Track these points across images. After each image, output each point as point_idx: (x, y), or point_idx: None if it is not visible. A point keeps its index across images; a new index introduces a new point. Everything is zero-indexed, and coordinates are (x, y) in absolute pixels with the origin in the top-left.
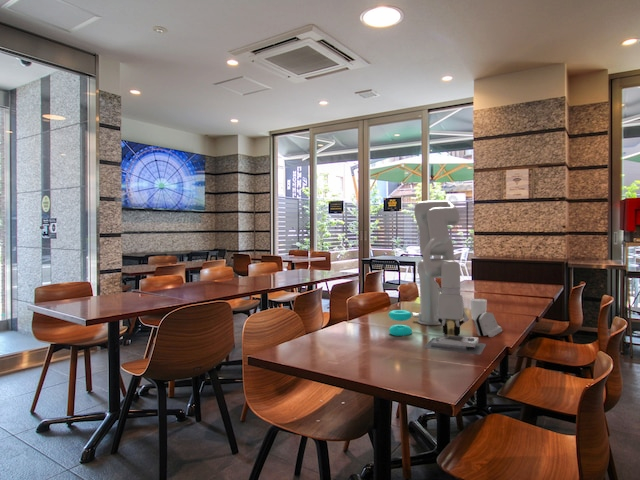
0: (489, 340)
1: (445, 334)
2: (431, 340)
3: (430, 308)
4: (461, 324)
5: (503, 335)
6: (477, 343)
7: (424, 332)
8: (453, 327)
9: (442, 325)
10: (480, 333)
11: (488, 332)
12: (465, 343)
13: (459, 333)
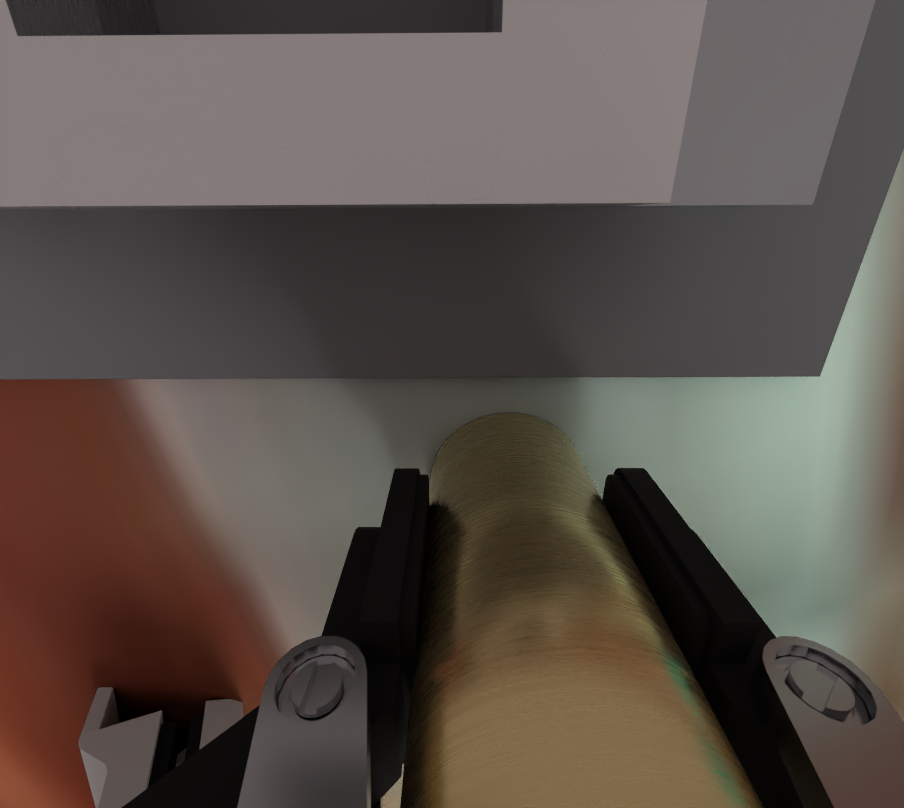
0: (53, 608)
1: (629, 176)
2: (869, 174)
3: None
4: (204, 755)
5: (54, 796)
6: (27, 341)
7: (890, 656)
8: (466, 604)
9: (812, 642)
10: (194, 746)
11: (98, 780)
12: None
13: (357, 541)
